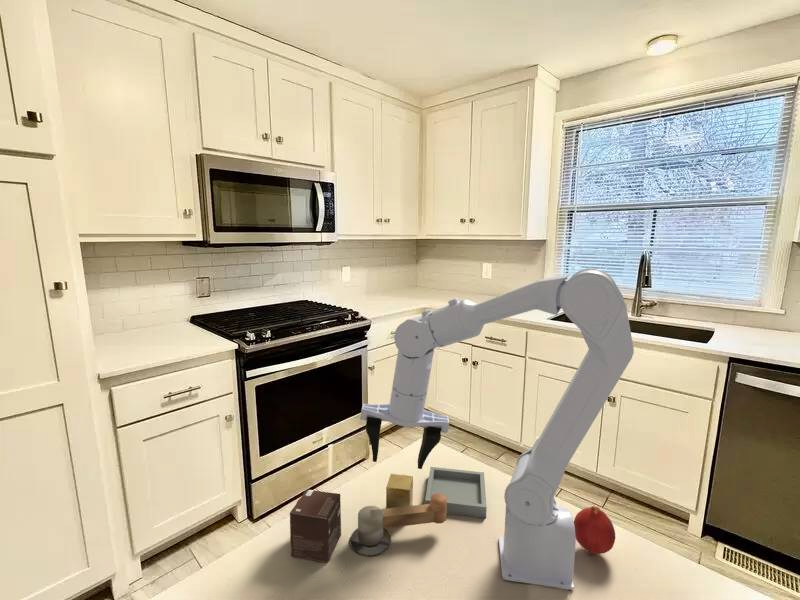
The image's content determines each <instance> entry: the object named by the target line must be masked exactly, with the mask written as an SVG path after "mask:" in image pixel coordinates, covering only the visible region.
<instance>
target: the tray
mask: <svg viewBox="0 0 800 600" xmlns="http://www.w3.org/2000/svg"><path fill="white" fill-rule="evenodd" d="M485 481H486V480H485V472H484V471H483V472H481V471H472V470H465V469H463V470H462V469H457V468H456V469H455V468H454V469H453V468H447V467H446V468H445V467H436V466H430V469H429V474H428V480H427V486H426V493H425V498H424V504H431V496H432V495H434V494H442V495H444V496H446V498H447V510H446V514H451V515H459V516H467V517H477V518H484V519H486V518H487V507H488V506H487V495H486V482H485Z"/></svg>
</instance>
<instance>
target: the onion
mask: <svg viewBox="0 0 800 600" xmlns="http://www.w3.org/2000/svg"><path fill="white" fill-rule="evenodd" d="M573 521H574V526H575V538H576V541H577V543H578V544H579V545H580V546H581V547H582V549H584V550H585V551H586V552H587V553H589V554H590V555H592V556H593V555H594V556H595V555H601V554H606V553H607V552H610V550H612V549H613V548H614V545H615V542H616V530H615V527H614V524H613V522H612V520H611V519H610V517H609V516H608V515H607V514H606V513H605V512H604V511H603V510H601V509H600V507H599V506H598V505H596V504H595V505H592V506H590V507H585V508H583V509H581V510H580V511H579V512H577V514H575V517H574V518H573Z"/></svg>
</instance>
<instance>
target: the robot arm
mask: <svg viewBox="0 0 800 600" xmlns="http://www.w3.org/2000/svg"><path fill="white" fill-rule="evenodd" d="M570 275H571V272H570V273H569V272H568V273H565V274H559V275H555V276H551V277H547V278H546V277H545V278H542V279H539V280H536V281H534V282H531V283H528V284H526V285H524V286H521V287H519V288H516V289H513V290H511V291H508V292H505V293H502V294H500V295H497V296H496V297H495V296H494V297H493V298H490V299H487V300H486V301H485V300H484V301H483V302H480V303H476V302H475V301H471V300H469V299H467V298H464V299H462V300H460V298H459V297H456V298H453V299H450V300H448V301H447V302H448V305H446V306H442V307H440V308H437V309H434V310H432V311H431V309H426V310H423V311H422V312H421V315H419V316H418V315H417V316H416V317H413V318H410V319H409V318H408V319H406V320H405V321H403V322H402V323H400V324H399V325H398V326H397V327H396V328H395V332H394V336H393V340H394V344H395V347H396V349H397V357H396V362H395V368H394V375H393V380H392V381H393V382H392V385H391V386H392V387H391V392H390V393H391V394H390V400H389V404H388V403H387V404H385V403H383V404H382V403H375V404H373V403H372V404H371V403H362V407H361V412H360V418H359V420H362V421H366V424H365V432H366V433H367V436H368V439H369V443H370V447H371V452H372V462H374V463H377V461H378V455H379V454H378V453H379V445H380V434H381V429H382V428H381V427H382V422H387V423H392V424H394V425H398V426H400V427H406V428H415V427H420V428H423V431H422V433H423V434H422V439H421V445H420V449H419V453H418V455H417V456H418V457H417V469H419V470H422V469H423V466H424V465H425V461H427V458H428V457H429V455H430V454H431V452H432V450H433V449H434V448H435V447H436V446H437V445H438V444H439V443H440V441H441V438H442V434H441V433H446V434H448V431H449V428H450V427H449V426H450V418H449V416H447V415H441V414H438V413H436V412H432V411H429V410H426V409H425V405H426V399H427V394H428V388H429V384H430V377H431V371H432V365H433V358H434V354H435V349H436V348H444V347H446V346H450V345H453V344H456V343H459V342H462V341H466V340H469V339H473V338H475V337H478V336H480V334H481V333H482V330H483V328H484V326H485V325H486V324H491V323H493V322H497V321H501V320H504V319H507V318H511V317H513V316H517V315H520V314H524V313H528V312H530V311H531V312H532V311H534V310H538V311H541V312H544V313H547V314H548V313H549V314H551V315H553V316H554V315H555V316H557V315H558V314H559V312H560V311H561V310H562V311H563V313H564V314H565V316H566V317H567V318H568V319H569V320H570V321H571V322H572V323H573V324H574V325H575V326H576V327H577V329H579V330H580V333H581V335H582V337H583V339H584V342H585V344H586V346H587V348H588V350H587V352H586V354H585V355H584V357H583V358H582V361H581V363H580V364H579V366H578V368H577V370H576V371H575V373H574V375H573V376H572V378H571V380H570V382H569V383H568V385H567V387H566V389H565V390H564V393H563V394H562V396H561V398H560V400H559V402H558V403H557V405H556V407H555V409H554V410H553V412H552V414H551V415H550V418H549V420H547V423H546V425H545V427H544V428H543V431H542V432H541V434H540V435H539V437H538V438H537V439H536V440H535V442H534V443H533V445H532V447H531V448H530V449H528V450H526V451H524V452H523V453H522V454H520V455H519V456H518V458H517V460H516V464H515V468H514V471H513V473H512V477H511V479H510V482H509V483H508V484H507V486H506V488H505V490H504V497H503V498H504V503H505V516H504V517H505V518H504V532H503V533H504V535H503V536H499V537H498V547H499V557H500V565H501V575H502V579H503V580H505V581H511V582H517V583H525V584H530V585H537V586H545V587H550V588H557V589H564V590H573V589H574V587H575V584H574V582H573V581H574V580H573V578H574V569H575V568H574V566H575V556H576V541H577V540H576V538H575V526H574V517H573V515H572V512H571V510H569V509H568V508H564V507H562V506H559V505H558V504H557V501H556V499H555V496H556V493H557V491H558V489H559V487H560V484H561V482H562V479H563V477H564V474H565V471H566V469H567V466H568V465H569V464H570V461H571V460H572V458H573V457H574V455H575V453H576V451H577V450H578V448H579V447H580V445H581V443H582V441H583V440H584V438H585V437H586V435H587V434H588V432H589V430H590V428H591V427H592V426H593V423H594V421H595V420H596V418H597V417H598V415H599V413H600V412H601V410H602V409H603V407H604V405H605V403H606V402H607V400H608V398H609V397H610V395H611V393H612V392H613V390H614V389H615V387H616V385H617V383H618V382H619V381H620V378H621V377H622V376H623V374H624V372H625V370H626V369H627V367H628V365H629V364H630V362H631V361H632V358H633V356H634V353H635V349H634V344H633V338H632V337H633V336H632V331H631V326H630V319H629V315H628V314H629V313H628V307H627V304H626V302H625V299H624V296H623V294H622V292H621V290H620V289H619V287H618V285H617V284H616V282H615V281H614V279H613V277H612V276H611V275H610V274H608V273H607V272H606V271H604V270H602V269H599V268H584V269H582V270H579V271H577V272H575V273H574V274H572V276H570ZM569 276H570V278H568V277H569Z"/></svg>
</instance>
